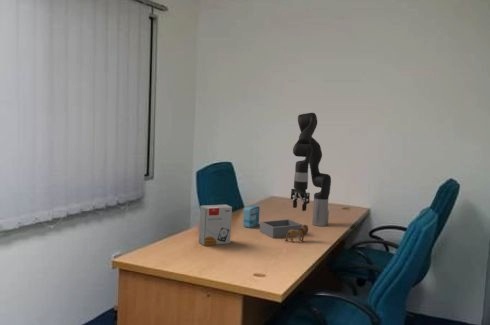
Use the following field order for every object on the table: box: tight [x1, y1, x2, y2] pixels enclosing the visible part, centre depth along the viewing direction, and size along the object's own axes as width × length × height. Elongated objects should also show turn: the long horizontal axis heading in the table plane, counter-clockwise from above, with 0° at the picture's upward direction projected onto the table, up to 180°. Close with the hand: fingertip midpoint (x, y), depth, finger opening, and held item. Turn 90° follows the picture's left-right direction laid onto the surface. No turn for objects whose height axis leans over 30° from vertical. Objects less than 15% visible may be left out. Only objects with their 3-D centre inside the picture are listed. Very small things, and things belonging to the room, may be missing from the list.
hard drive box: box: [198, 204, 233, 246], centre depth 246 cm, size 16×8×20 cm, turn 117°
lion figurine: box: [284, 224, 309, 243], centre depth 256 cm, size 15×5×9 cm, turn 116°
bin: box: [259, 219, 304, 239], centre depth 272 cm, size 20×14×6 cm
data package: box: [242, 205, 261, 229], centre depth 286 cm, size 12×4×12 cm, turn 149°
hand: (299, 209), depth 256 cm, fingers open, 8 cm apart
